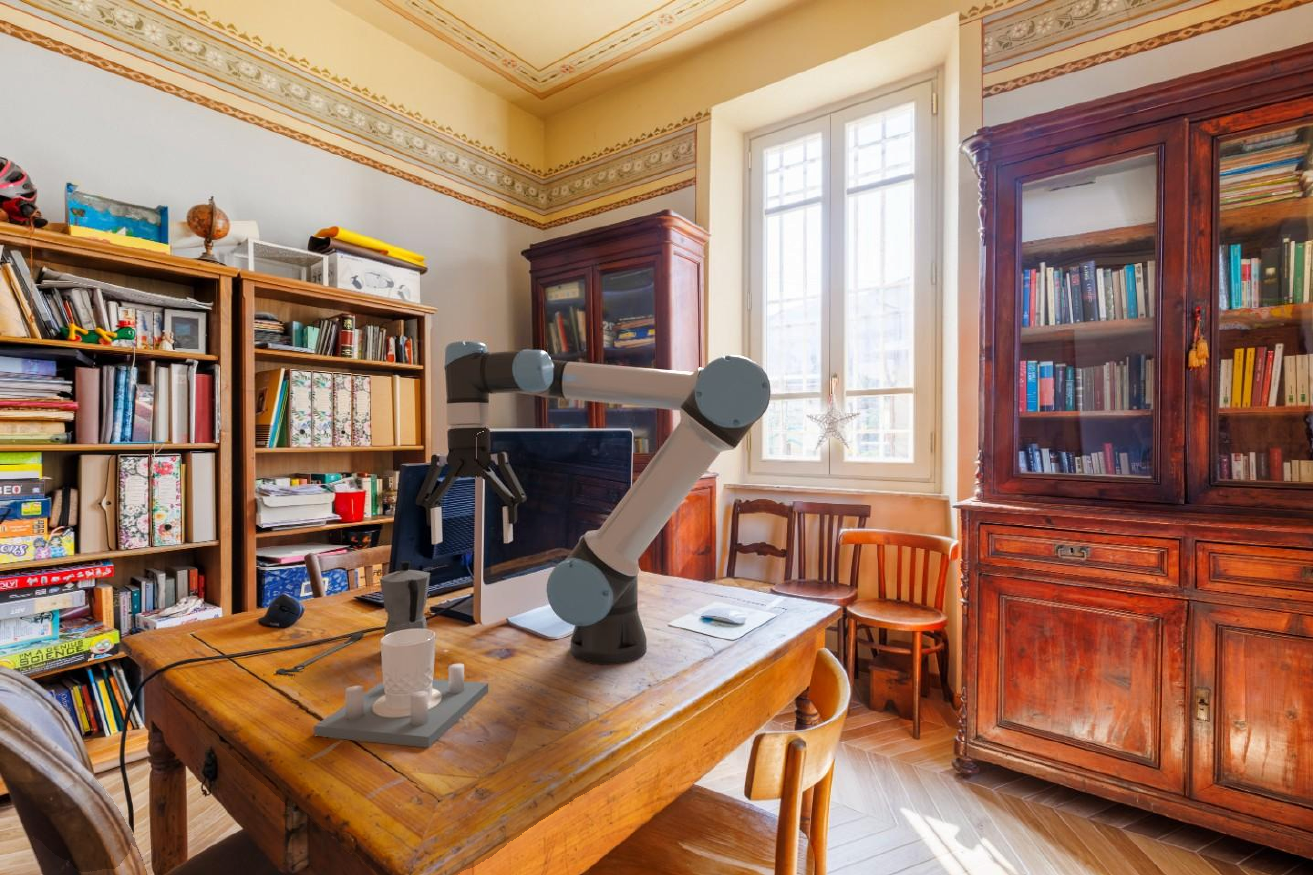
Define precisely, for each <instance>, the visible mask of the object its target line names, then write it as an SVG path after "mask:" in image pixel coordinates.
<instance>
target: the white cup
mask: <svg viewBox="0 0 1313 875" xmlns="http://www.w3.org/2000/svg"><path fill="white" fill-rule="evenodd" d="M435 651H436V632H435V631H434V630H432V629H428V628H427V629H406V630H401V631H396V632H393V633H390V634H388V635H386V636H384V635H383V637H381V639H380V655H381V672H382V681H383V687H384V691H385V704H386V707H388V708H390V709H393V710H406V709H411V707H410V695H411V694H412V693H414V692H418V691H427V692H428V702H429V700H430V699H431V697H432V681H433V679H434V670H435V669H434V668H435Z"/></svg>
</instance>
